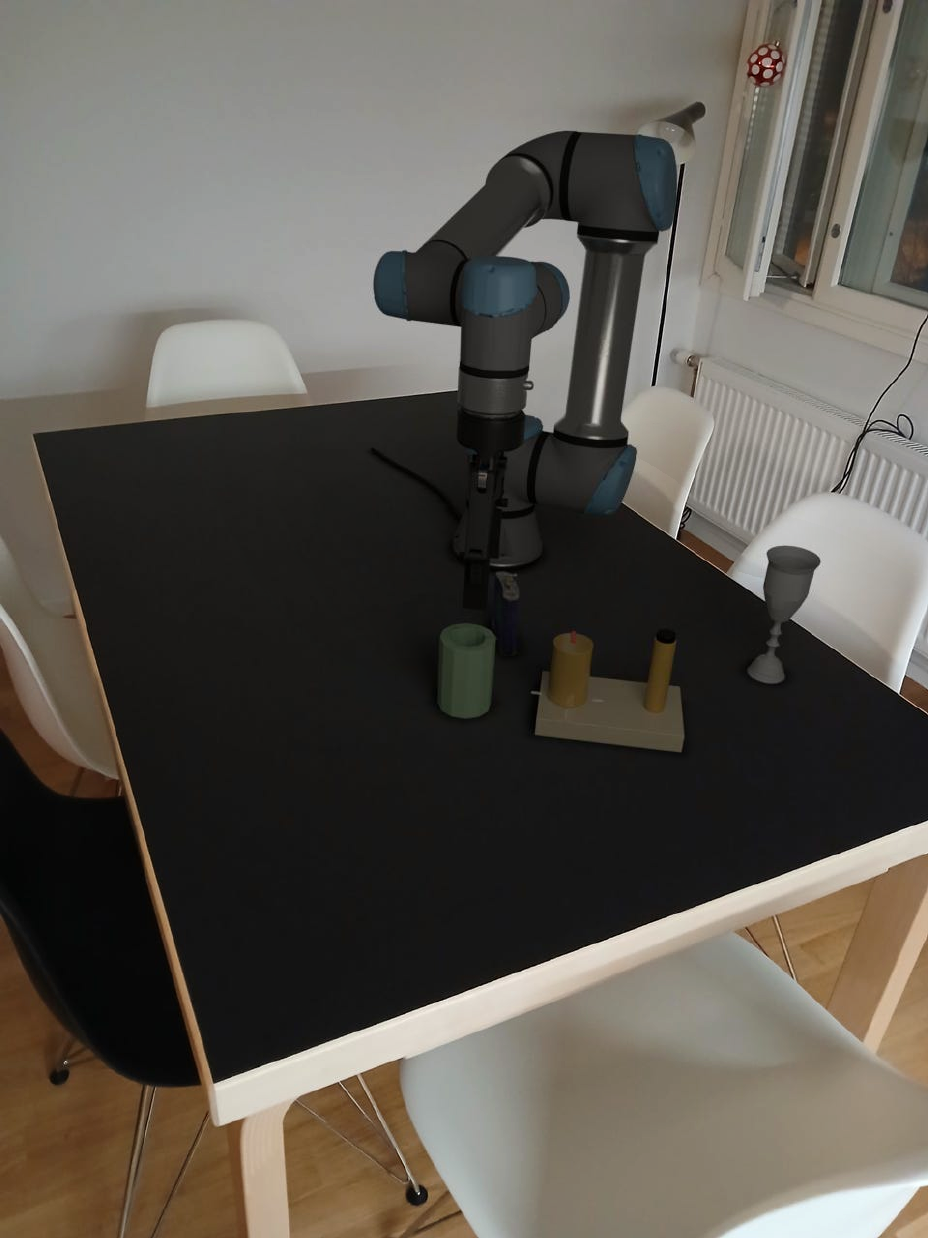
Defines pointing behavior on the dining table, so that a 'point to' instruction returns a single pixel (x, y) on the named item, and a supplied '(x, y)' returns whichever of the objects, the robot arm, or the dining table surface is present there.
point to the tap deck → (613, 716)
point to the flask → (506, 612)
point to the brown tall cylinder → (660, 670)
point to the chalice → (783, 601)
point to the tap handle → (570, 669)
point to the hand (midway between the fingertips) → (481, 581)
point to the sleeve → (465, 670)
